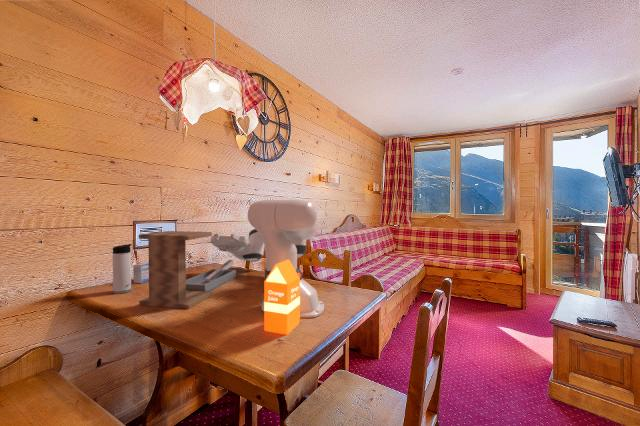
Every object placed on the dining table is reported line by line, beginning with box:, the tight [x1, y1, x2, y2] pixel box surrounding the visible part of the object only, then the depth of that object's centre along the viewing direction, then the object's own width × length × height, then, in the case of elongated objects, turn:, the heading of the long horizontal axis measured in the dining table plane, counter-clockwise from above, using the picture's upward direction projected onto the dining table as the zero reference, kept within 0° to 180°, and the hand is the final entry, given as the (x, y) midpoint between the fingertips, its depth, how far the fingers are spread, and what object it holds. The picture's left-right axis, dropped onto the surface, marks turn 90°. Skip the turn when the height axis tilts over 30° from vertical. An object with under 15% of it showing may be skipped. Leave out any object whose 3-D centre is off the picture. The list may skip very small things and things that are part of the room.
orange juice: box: [263, 259, 301, 335], centre depth 85 cm, size 8×9×20 cm
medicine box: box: [132, 261, 149, 284], centre depth 135 cm, size 8×4×9 cm, turn 168°
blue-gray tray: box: [186, 268, 237, 292], centre depth 130 cm, size 13×28×4 cm, turn 170°
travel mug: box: [112, 243, 133, 295], centre depth 118 cm, size 6×7×20 cm
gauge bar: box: [205, 259, 234, 283], centre depth 139 cm, size 2×22×2 cm, turn 169°
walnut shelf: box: [138, 230, 213, 310], centre depth 108 cm, size 20×15×26 cm
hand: (223, 235), depth 142 cm, fingers open, 8 cm apart
